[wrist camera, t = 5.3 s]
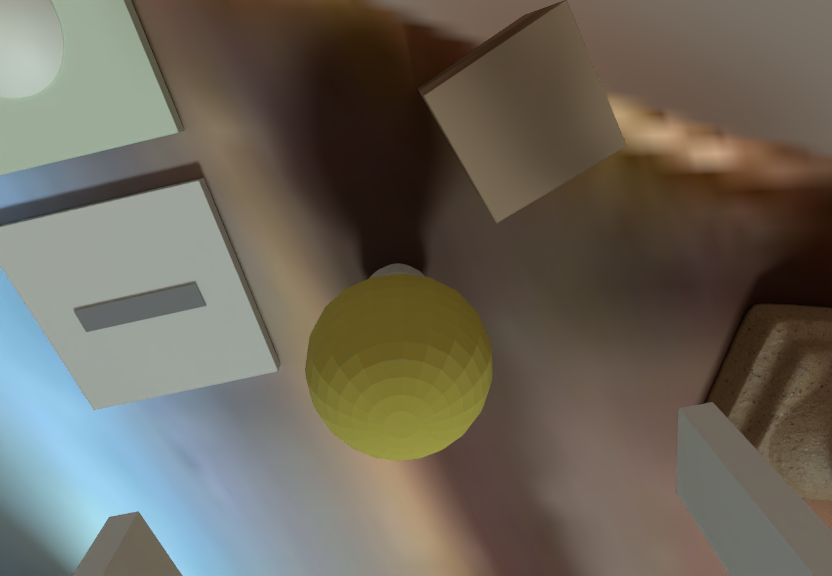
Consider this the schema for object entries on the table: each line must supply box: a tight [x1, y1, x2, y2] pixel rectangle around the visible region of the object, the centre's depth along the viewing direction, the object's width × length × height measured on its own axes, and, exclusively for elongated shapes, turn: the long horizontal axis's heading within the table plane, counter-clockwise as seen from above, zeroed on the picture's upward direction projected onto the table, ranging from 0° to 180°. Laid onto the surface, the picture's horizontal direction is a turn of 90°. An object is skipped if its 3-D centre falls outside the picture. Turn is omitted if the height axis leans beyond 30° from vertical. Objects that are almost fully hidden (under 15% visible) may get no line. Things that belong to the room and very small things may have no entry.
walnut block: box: [417, 0, 627, 223], centre depth 18 cm, size 5×5×5 cm
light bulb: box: [305, 263, 492, 461], centre depth 19 cm, size 7×7×10 cm
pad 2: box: [0, 178, 280, 410], centre depth 23 cm, size 10×10×1 cm
